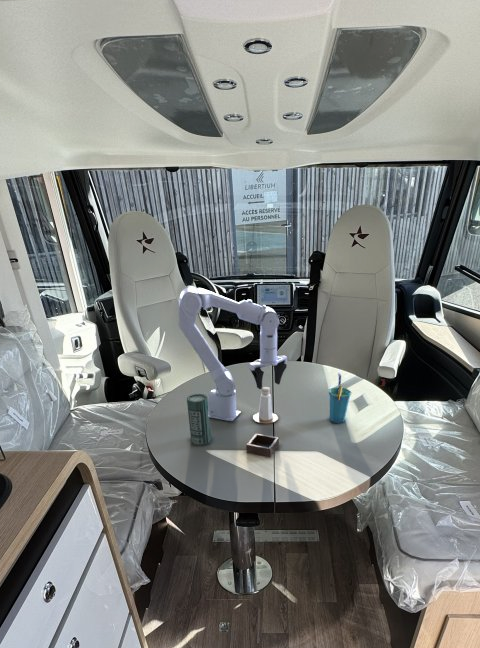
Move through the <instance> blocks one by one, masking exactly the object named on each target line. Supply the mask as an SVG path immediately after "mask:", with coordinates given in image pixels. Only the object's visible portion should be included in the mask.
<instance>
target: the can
mask: <svg viewBox="0 0 480 648" xmlns="http://www.w3.org/2000/svg"><path fill="white" fill-rule="evenodd" d="M208 397H209V396H208V395H206V394H204V393H193V394H189V395H188V396H187V397H186V404H187V415H188V422H189V433H190V439H191V440H190V442H191V443H192V444H193V445H195V446H205V445H207V444H210V443H211V441H212V439H211V438H212V437H211V424H210V417H209V405H208Z"/></svg>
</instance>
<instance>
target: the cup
mask: <svg viewBox="0 0 480 648" xmlns="http://www.w3.org/2000/svg"><path fill="white" fill-rule="evenodd" d="M337 376H338V383H337V384H338V386H337V387H332V388H331V389H329V391H328V395H329V421H330V422H331V423H334V424H342V423H344V422H345V420H346V416H347V411H348V406H349V402H350V398H351V395H352V391H351V390H350V389H348V388H345V387H343V385H342V375H341V373H340V372H338V373H337Z"/></svg>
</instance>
